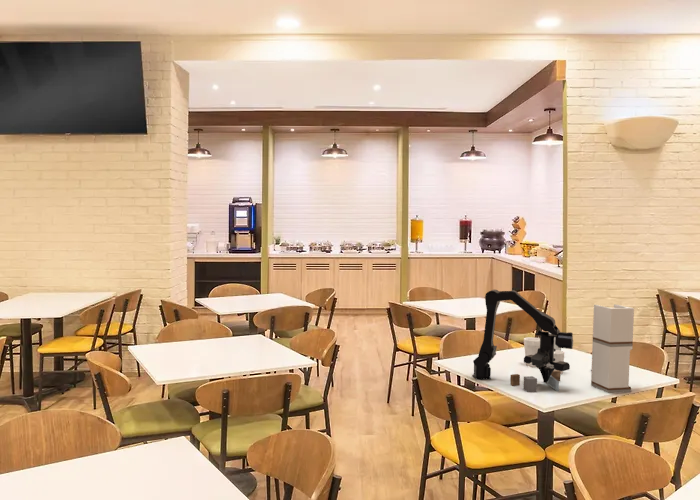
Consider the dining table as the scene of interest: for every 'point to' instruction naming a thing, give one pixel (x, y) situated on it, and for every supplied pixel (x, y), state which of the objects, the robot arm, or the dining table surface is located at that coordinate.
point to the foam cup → (531, 347)
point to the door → (553, 383)
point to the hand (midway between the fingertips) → (545, 382)
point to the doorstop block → (530, 384)
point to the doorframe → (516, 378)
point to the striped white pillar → (612, 348)
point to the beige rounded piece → (558, 357)
